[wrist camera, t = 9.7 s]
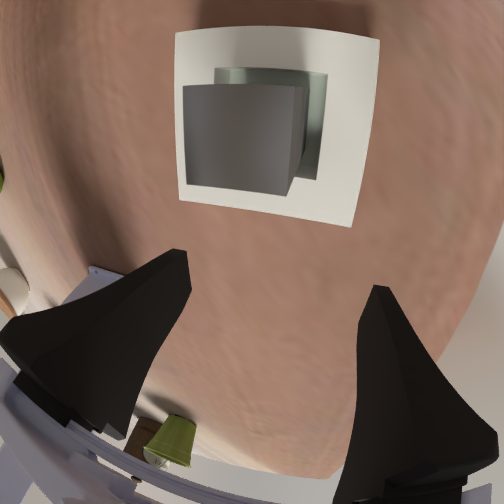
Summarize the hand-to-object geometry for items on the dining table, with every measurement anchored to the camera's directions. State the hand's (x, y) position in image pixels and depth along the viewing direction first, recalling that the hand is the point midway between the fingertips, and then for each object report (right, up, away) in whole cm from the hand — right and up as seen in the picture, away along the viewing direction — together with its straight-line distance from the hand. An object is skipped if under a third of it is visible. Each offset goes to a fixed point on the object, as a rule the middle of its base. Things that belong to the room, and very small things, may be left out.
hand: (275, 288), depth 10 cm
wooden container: (-30, -54, +60) cm, 86 cm away
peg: (+1, +10, +5) cm, 11 cm away
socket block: (+1, +10, +6) cm, 11 cm away
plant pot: (-17, -39, +46) cm, 63 cm away
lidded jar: (-50, -4, +32) cm, 59 cm away
